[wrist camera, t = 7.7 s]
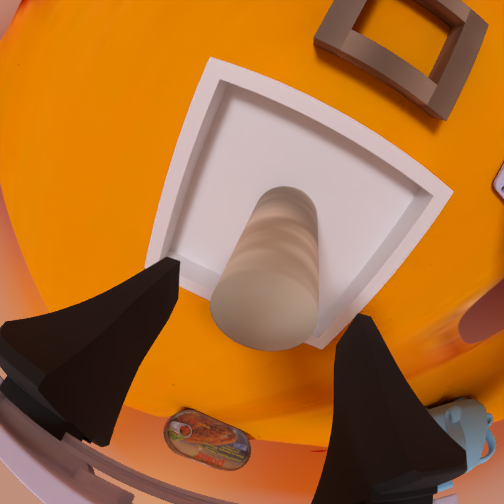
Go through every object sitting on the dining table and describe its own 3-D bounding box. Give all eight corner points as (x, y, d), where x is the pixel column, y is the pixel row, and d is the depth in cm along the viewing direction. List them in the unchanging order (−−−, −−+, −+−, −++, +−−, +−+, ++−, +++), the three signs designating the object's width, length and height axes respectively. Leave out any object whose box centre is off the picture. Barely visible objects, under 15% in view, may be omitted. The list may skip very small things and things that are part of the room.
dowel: (326, 197, 16) (336, 292, 9) (305, 251, 18) (296, 360, 11) (263, 178, 16) (218, 256, 9) (248, 233, 19) (204, 333, 11)
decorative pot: (462, 375, 24) (480, 469, 13) (491, 399, 26) (504, 467, 15) (368, 425, 33) (365, 505, 21) (417, 439, 35) (418, 501, 24)
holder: (474, 28, 8) (488, 24, 6) (432, 117, 13) (446, 120, 11) (363, -44, 8) (367, -57, 6) (313, 44, 12) (313, 37, 11)
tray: (434, 176, 15) (453, 191, 12) (322, 323, 23) (321, 349, 20) (226, 62, 14) (210, 56, 11) (161, 247, 22) (144, 267, 20)
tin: (256, 435, 40) (246, 476, 33) (246, 438, 42) (236, 477, 35) (178, 400, 38) (159, 444, 31) (171, 404, 39) (154, 445, 32)
